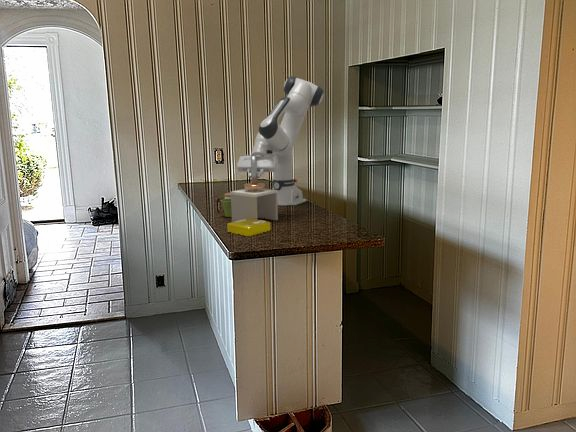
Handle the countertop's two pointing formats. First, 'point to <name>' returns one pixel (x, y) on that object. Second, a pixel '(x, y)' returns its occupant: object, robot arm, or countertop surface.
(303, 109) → the robot arm
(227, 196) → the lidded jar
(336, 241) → the countertop surface
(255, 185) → the peg
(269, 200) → the slotted white pedestal
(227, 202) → the plant pot
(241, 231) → the element tile
